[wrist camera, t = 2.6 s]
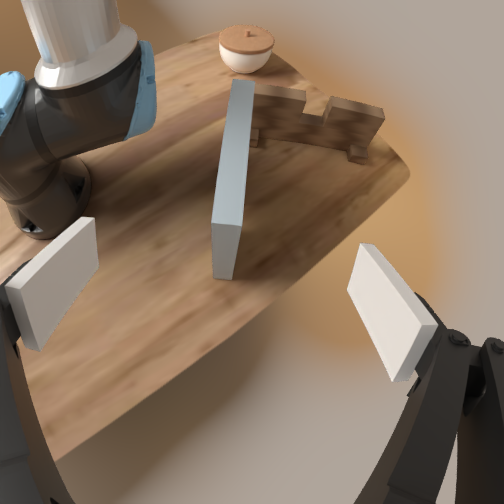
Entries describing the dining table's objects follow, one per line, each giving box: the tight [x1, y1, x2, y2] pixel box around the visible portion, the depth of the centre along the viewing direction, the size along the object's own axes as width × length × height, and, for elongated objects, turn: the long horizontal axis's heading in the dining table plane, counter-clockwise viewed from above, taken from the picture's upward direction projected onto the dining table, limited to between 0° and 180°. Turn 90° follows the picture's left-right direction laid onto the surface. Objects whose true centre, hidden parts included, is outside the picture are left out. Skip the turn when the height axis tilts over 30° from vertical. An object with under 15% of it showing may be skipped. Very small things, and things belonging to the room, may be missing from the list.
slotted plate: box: [211, 79, 255, 280], centre depth 37 cm, size 18×2×18 cm, turn 176°
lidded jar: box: [219, 25, 274, 74], centre depth 53 cm, size 11×11×9 cm
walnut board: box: [249, 83, 385, 164], centre depth 47 cm, size 22×7×10 cm, turn 86°
